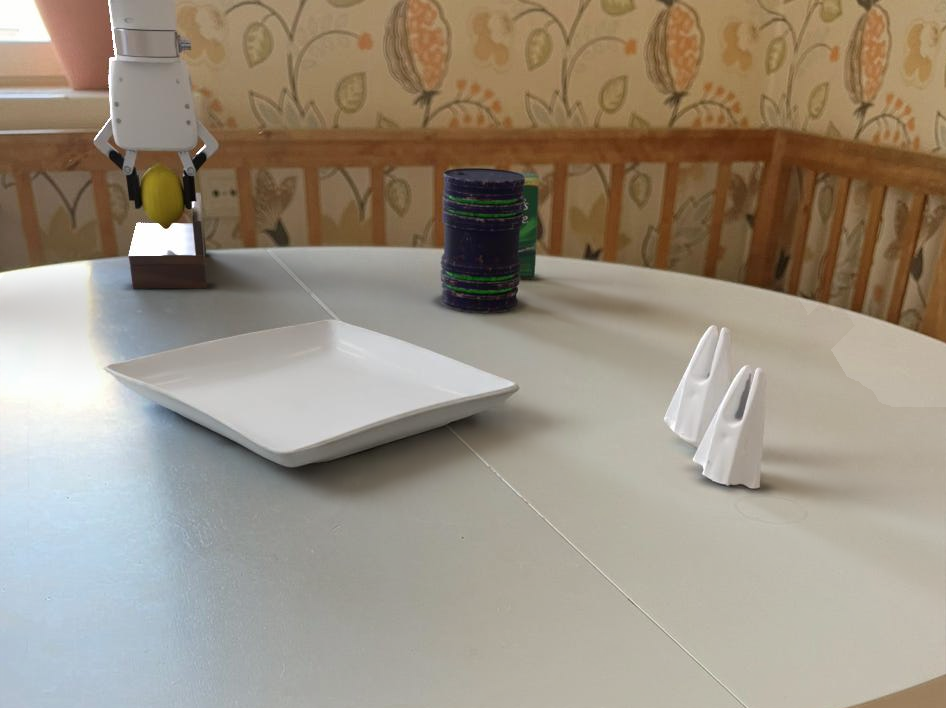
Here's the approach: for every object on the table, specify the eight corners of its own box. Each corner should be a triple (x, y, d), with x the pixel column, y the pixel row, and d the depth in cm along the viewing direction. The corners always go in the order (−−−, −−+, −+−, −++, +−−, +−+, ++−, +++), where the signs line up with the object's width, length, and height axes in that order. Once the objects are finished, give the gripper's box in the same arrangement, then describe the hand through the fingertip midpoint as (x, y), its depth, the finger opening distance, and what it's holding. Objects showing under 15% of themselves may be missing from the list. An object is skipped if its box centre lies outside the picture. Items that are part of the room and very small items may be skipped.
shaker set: (658, 437, 94) (675, 313, 88) (701, 435, 95) (721, 312, 89) (716, 492, 85) (739, 356, 79) (763, 488, 86) (789, 354, 80)
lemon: (144, 233, 134) (136, 165, 129) (143, 225, 138) (136, 159, 134) (188, 233, 135) (182, 166, 131) (187, 225, 140) (181, 160, 135)
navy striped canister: (522, 296, 136) (530, 171, 128) (513, 316, 127) (521, 183, 119) (447, 290, 137) (450, 165, 129) (433, 309, 128) (435, 177, 120)
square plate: (286, 497, 80) (283, 449, 78) (103, 403, 96) (96, 361, 94) (522, 418, 97) (524, 377, 95) (333, 349, 113) (332, 312, 111)
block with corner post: (140, 253, 147) (132, 192, 143) (206, 253, 149) (200, 192, 145) (132, 288, 131) (124, 220, 126) (207, 287, 132) (200, 221, 128)
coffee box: (476, 278, 143) (480, 174, 136) (474, 273, 145) (478, 171, 138) (534, 280, 143) (541, 176, 136) (531, 275, 146) (538, 173, 139)
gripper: (219, 48, 131) (231, 202, 140) (74, 42, 127) (96, 201, 136) (220, 51, 124) (232, 213, 134) (68, 45, 121) (91, 212, 130)
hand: (163, 205), depth 135 cm, fingers closed on lemon, 5 cm apart
